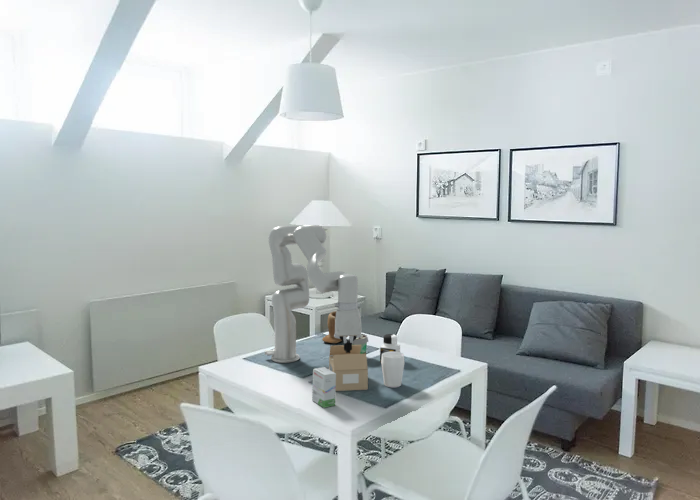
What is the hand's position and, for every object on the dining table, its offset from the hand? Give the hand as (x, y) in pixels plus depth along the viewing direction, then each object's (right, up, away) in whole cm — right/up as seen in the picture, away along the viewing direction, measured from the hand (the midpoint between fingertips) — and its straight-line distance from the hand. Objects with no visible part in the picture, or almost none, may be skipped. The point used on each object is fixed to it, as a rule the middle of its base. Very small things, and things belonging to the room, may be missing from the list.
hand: (347, 352), depth 211 cm
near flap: (+1, -2, -7) cm, 8 cm away
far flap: (-1, -1, +8) cm, 8 cm away
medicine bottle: (+19, -10, +28) cm, 35 cm away
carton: (0, -12, +1) cm, 12 cm away
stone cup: (-6, -6, +61) cm, 61 cm away
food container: (+6, -9, +32) cm, 34 cm away
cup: (+17, -13, -1) cm, 22 cm away
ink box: (-8, -15, -20) cm, 26 cm away
